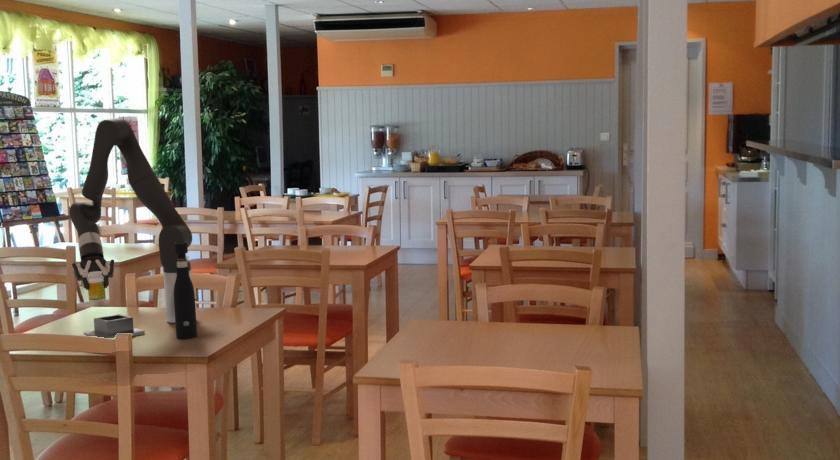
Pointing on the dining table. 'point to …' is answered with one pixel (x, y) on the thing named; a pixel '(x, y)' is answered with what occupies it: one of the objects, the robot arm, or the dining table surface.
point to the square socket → (113, 326)
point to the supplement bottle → (96, 287)
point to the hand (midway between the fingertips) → (96, 287)
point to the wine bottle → (184, 297)
